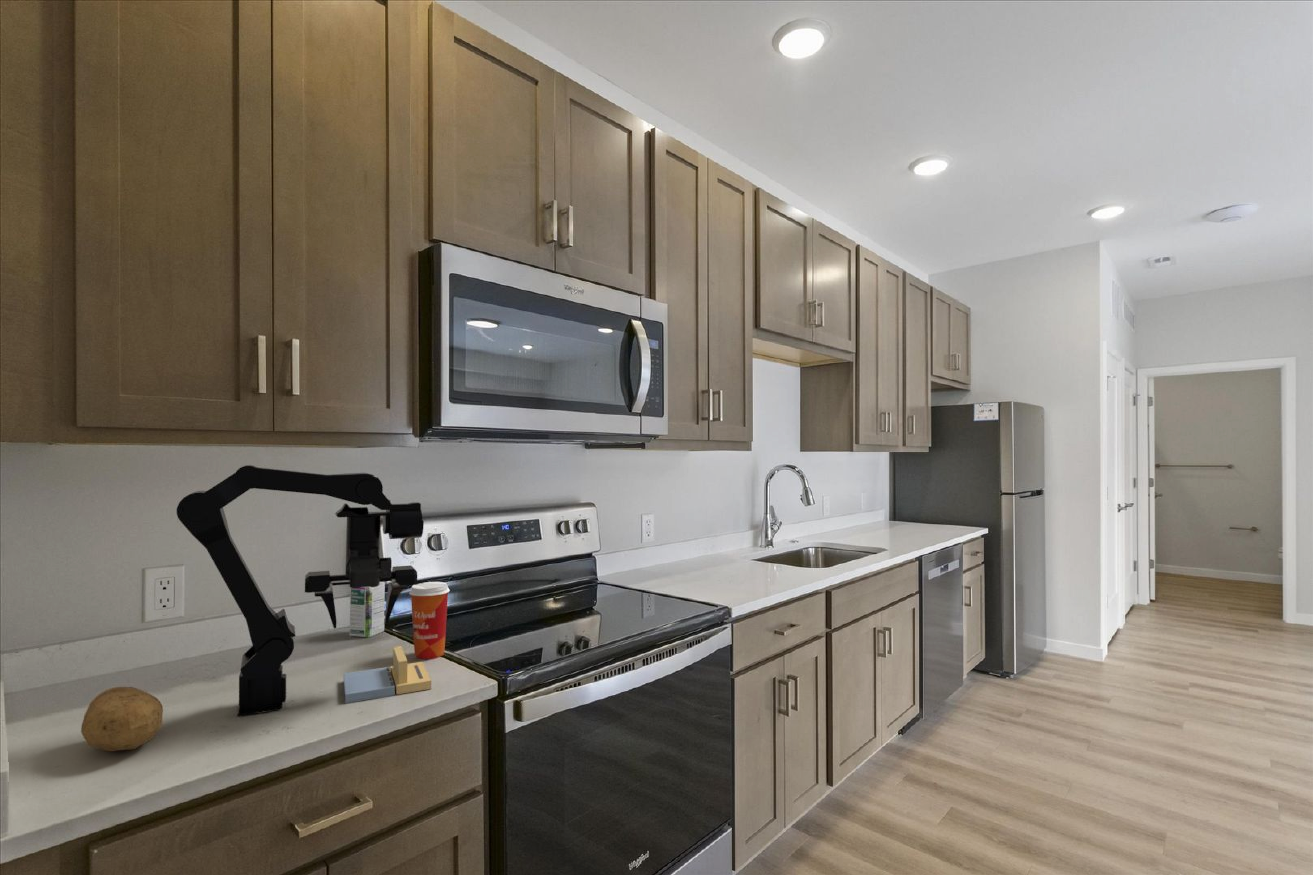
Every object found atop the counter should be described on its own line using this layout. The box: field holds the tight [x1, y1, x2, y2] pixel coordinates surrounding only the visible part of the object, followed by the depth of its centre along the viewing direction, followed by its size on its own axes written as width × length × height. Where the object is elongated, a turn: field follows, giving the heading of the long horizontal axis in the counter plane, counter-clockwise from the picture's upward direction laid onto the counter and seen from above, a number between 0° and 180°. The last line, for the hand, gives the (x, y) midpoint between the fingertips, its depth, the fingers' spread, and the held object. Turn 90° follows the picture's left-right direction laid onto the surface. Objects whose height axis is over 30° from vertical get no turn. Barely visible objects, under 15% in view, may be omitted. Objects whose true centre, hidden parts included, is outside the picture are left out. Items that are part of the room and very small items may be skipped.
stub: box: [389, 645, 432, 695], centre depth 124 cm, size 6×12×6 cm, turn 27°
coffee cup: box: [408, 581, 451, 660], centre depth 140 cm, size 8×8×15 cm
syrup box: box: [348, 582, 386, 638], centre depth 157 cm, size 6×6×14 cm
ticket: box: [343, 666, 396, 704], centre depth 121 cm, size 8×12×2 cm, turn 27°
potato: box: [80, 686, 164, 752], centre depth 97 cm, size 10×14×8 cm
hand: (361, 625), depth 120 cm, fingers open, 8 cm apart
